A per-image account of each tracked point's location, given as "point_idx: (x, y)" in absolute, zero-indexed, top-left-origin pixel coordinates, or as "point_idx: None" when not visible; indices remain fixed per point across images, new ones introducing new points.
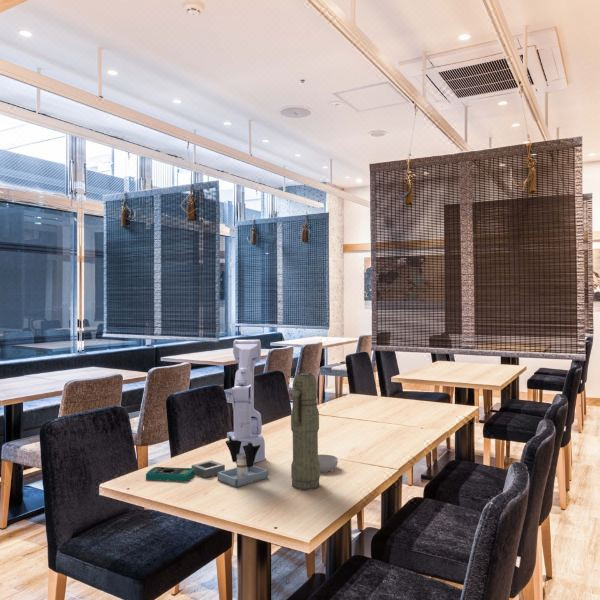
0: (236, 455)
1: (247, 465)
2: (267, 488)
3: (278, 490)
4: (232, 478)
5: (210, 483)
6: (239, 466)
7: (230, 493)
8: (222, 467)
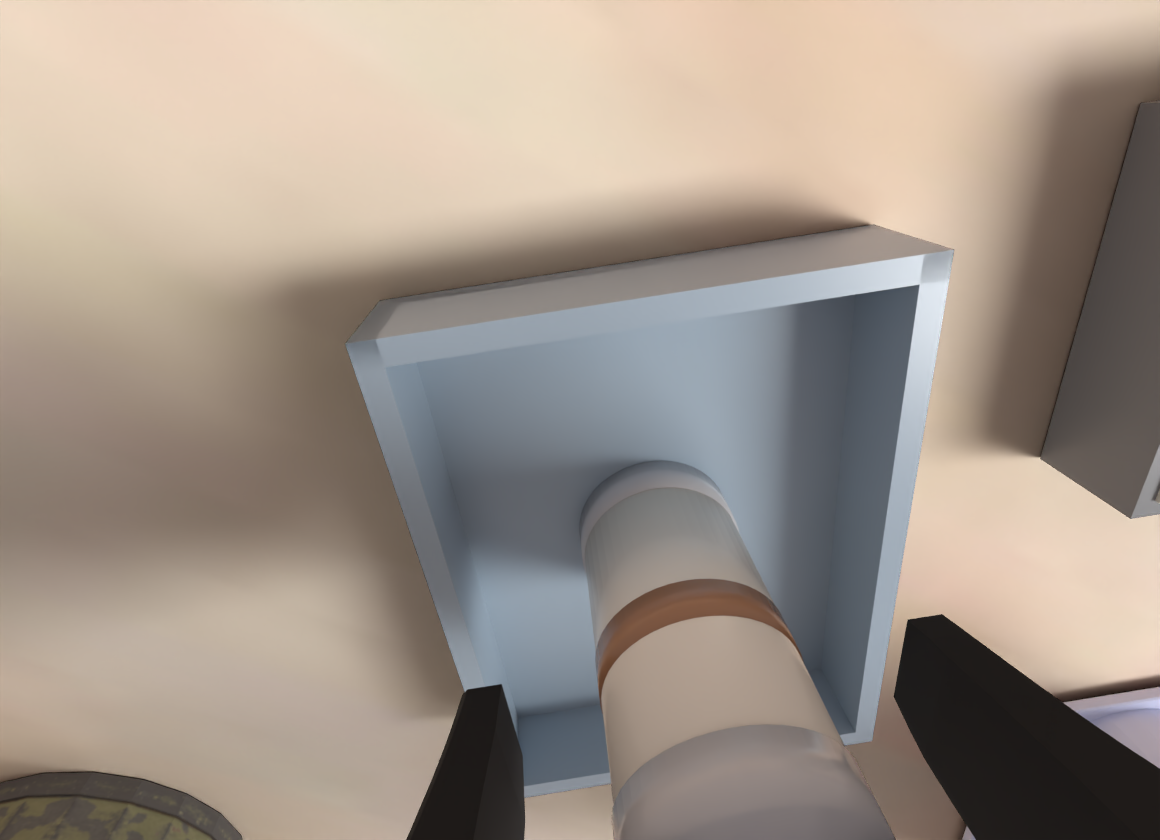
0: (981, 779)
1: (467, 713)
2: (158, 593)
3: (35, 650)
4: (462, 323)
5: (842, 34)
6: (653, 608)
7: (129, 70)
8: (1118, 467)
